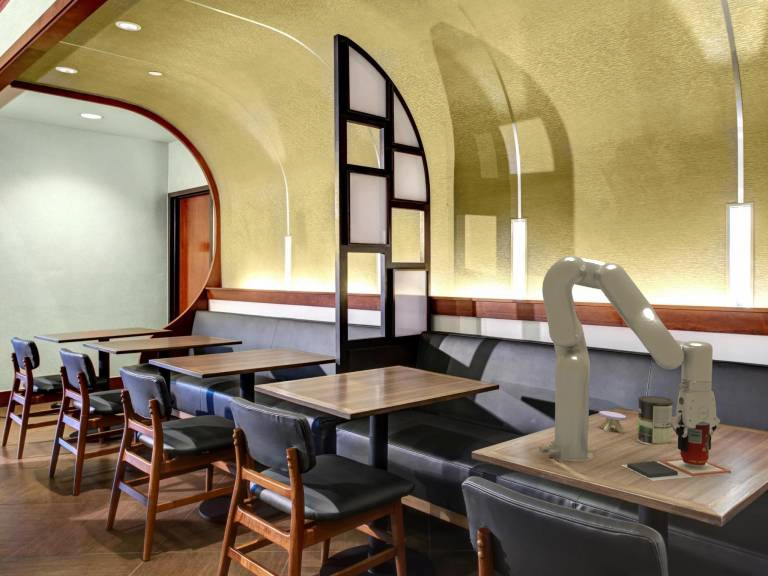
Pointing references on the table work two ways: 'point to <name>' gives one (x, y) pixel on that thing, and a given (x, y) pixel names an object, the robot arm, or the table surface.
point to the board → (680, 475)
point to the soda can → (697, 445)
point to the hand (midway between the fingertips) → (694, 448)
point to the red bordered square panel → (695, 467)
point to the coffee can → (654, 420)
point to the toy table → (612, 421)
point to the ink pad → (652, 469)
